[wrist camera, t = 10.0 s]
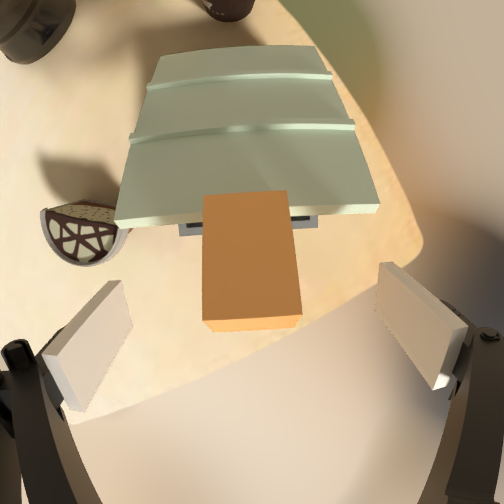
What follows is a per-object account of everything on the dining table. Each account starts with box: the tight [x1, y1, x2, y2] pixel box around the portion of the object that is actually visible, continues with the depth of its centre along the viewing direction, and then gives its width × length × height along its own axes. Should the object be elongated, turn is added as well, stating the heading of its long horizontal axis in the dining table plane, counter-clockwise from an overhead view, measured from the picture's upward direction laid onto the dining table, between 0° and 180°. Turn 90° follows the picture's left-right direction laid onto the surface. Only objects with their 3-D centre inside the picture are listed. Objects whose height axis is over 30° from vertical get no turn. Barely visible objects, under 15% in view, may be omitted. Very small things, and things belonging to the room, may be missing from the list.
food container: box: [40, 200, 133, 267], centre depth 35 cm, size 12×6×10 cm, turn 77°
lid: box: [114, 45, 380, 332], centre depth 18 cm, size 25×15×3 cm
